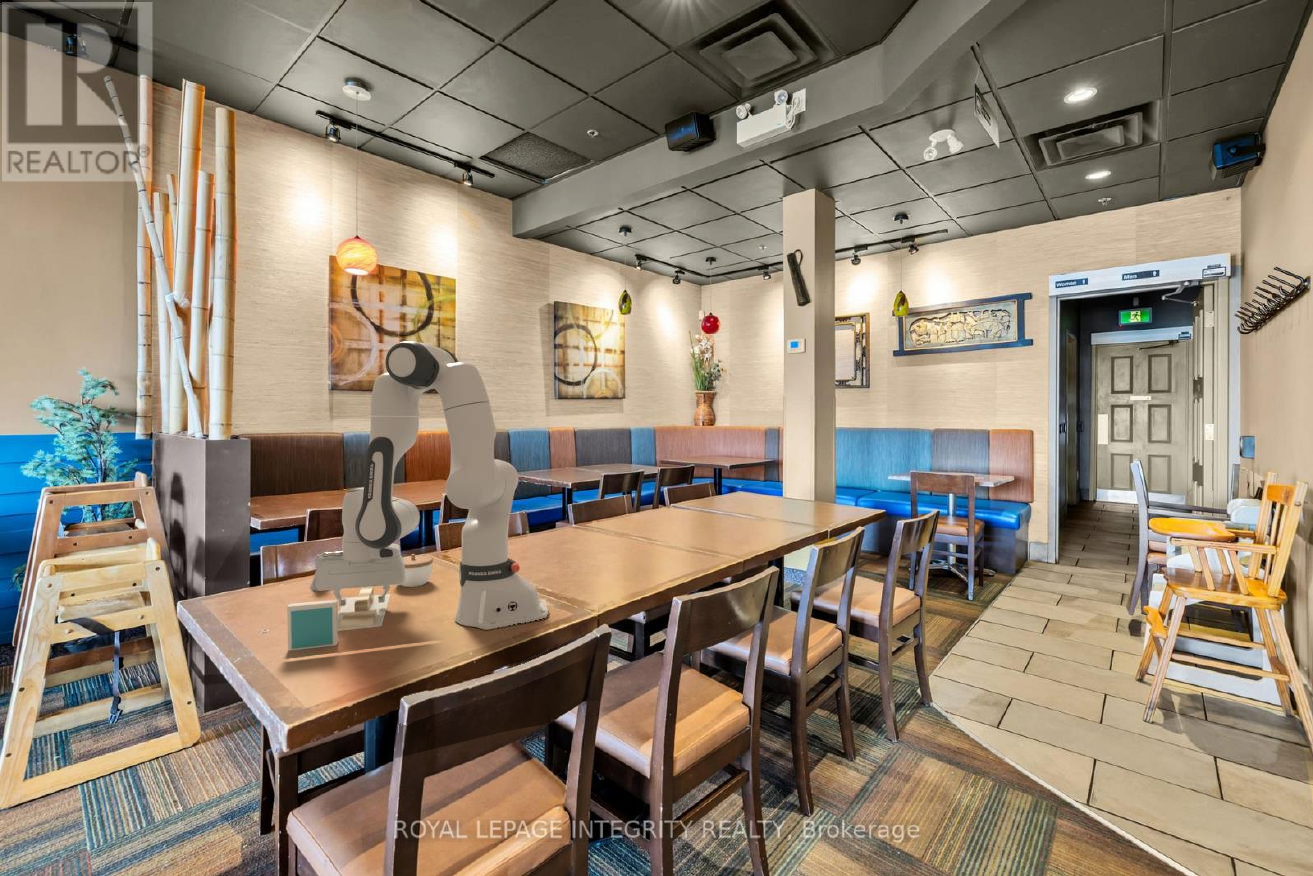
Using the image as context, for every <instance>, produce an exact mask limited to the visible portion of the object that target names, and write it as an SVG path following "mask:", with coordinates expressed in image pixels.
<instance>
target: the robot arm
mask: <svg viewBox="0 0 1313 876" xmlns="http://www.w3.org/2000/svg"><path fill="white" fill-rule="evenodd" d="M384 361H385V364H384V365H385V368H386V369H385V370H386V371H387V372H385V373H382V374H380V375H378V376H377V377H376V378H375V380H374V382H373V387H372V392H371V393H372V394H371V400H370V402H371V403H370V433H369V441H368V447H367V451H366V458H365V465H364V467H365V469H364V481H363V486H362V487H357V488H352V489H351V490H349V491H347V492H345V494H344V496H343V501H342V509H341V511H342V512H341V525H342V526H343V535H342V538H341V548H342V549H341V551H340V550H339V551H332V552H331V551H330V552H328V551H325V552H322V553H320V554H321V555H319V554H318V555H319V556H317V555H316V558H315V563H314V564H315V565H314V566H315V569H316V570H318V572H317V579H316V588H317V589H318V590H320V591H319V592H321V591H332V590H333V595H334V597H335V598H336V600H337V601H338V607H342V606H346V598H347V597H343V596H342V594H341V592H342V590H344V589H357V588H360V589H361V588H362V587H372V586H373V587H382V589H383V590H384V591H383V593H381V594H378V595H379V596H378V599H379V600H378V603H384V602H385V595H386V594H388V592H389V590H390V588H391V586H395V585H400V584H402V583H403V582H404V581H405V565H404V560H403V558H402V557H403V556H402V555H401V554H400V552H401V547H400V545H399V544H398V543H395V542H396V541H398V540H400V539H402V538H404V537H406V536H407V535H409V534H411V533H412V532H414V531H415V530H416V529H417V528H418V526H419V525H420V521H421V513H420V511H419V508H418V507H417V505H416V504H415V503H414V502H412V501H411V500H408V499H403V498H399V497H396V496H393V494H394V481H395V479H394V478H395V471H396V467H397V465H398V462H399V461H400V460H401V458H403V456H404V455H405V454H406V453H407V451H410V449H411V448H412V447H413V446H414V445H415V444H416V442H417V439H418V435H419V426H420V424H419V423H420V422H419V421H420V417H419V416H420V415H419V413H420V412H419V404H420V403H419V402H420V397H421V396H422V395H423V394H424V393H426V394H432V393H434V392H436V393H437V394H438V395H439V397H440V400H441V406H442V409H443V414H444V419H445V423H446V427H447V432H448V437H449V442H450V471H449V475H448V477H447V480H446V481H445V482H446V483H445V494H446V496H447V498H448V500H449V502H450V503H451V504H452V505H454V506H455V507H457V508H459V509H466V510H468V513H467V516H466V519H465V523H464V524H463V526H462V529H461V561H460V562H459V571H458V572H459V573H458V574H459V585H460V591H459V594H460V595H459V599H458V600H459V601H458V605H457V610H456V615H455V618H454V620H455V622H456V623H457V624H459V625H462V626H466V627H475V628H478V629H481V630H493V629H499V628H504V627H509V625H510V626H514V625H513V624H515V625H518V624H517V623H521V624H525V622H526V623H531V622H536V621H535V620H537V621H540V620H539V619H542V618H545V619H546V618H547V617H548V616H549V609H548V605H547V604H546V603H545V602H543V601H542V600H540V596H539V593H538V590H537V587H535V585H534V584H533V583H532V582H531V581H529V580H527V579H526V578H524V577H523V576H521V575H520V574H518V572H519V571H520V569H521V567H520V565H519V563H517V562H516V561H515V560H514V559H513V558H510V557H509V523H510V518H511V513H512V509H513V503H514V502H513V501H514V496H515V491H516V490H517V487H518V485H519V474H518V471H517V469H516V468H515V466H513V465H512V464H511V463H510V462H507V461H505V460H501V459H497V458H495V440H496V437H497V436H496V435H497V429H496V425H495V421H494V420H495V419H494V415H493V411H492V409H491V403H490V399H489V395H488V392H487V389H486V386H485V383H484V381H483V379H482V376H481V374H480V372H479V370H478V368H477V367H476V366H475V365H473V364H472V363H469V362H463V361H459V360H458V358H457V357H456V356H455V355H454V353H452V352H451V351H449V350H447V349H446V348H445V349H444V348H441V347H437V346H435V345H434V344H430V343H425V342H418V341H414V340H409V341H401V342H398V343H396V344H394V345H393V346H392V347H391V348H390V349H389V350H388V351H387V354H386V356H385V360H384ZM320 556H322V557H320ZM547 615H548V616H547ZM542 620H543V619H542ZM530 621H531V622H530ZM498 627H499V628H498Z"/></svg>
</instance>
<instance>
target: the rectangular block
mask: <svg viewBox="0 0 1313 876" xmlns="http://www.w3.org/2000/svg"><path fill="white" fill-rule="evenodd" d="M338 607H339V604H338V599H327V600H319V601H318V600H317V601H307V602H298V603H297V602H296V603H295V602H294V603H289V604H288V605H287V615H286V616H287V651H288V652H292V651H299V650H307V649H316V648H322V647H323V648H324V647H332V646H337V644H338V643H339V631H338V612H339V611H338V610H339V609H338Z"/></svg>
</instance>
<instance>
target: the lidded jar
mask: <svg viewBox="0 0 1313 876" xmlns="http://www.w3.org/2000/svg"><path fill="white" fill-rule="evenodd" d="M402 558H403V560H404V565H405V581H404V582H403V583H402V584H399V586H401V587H404V588H417V587H422V586H424V585H426V584H427V582H428V581H429V580H430V578H431V576H432V573H433V562H434V559H433V557H432V556H429V555H416V553H411V555H409V556H408V555H407V556H404V557H403V556H402Z"/></svg>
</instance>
